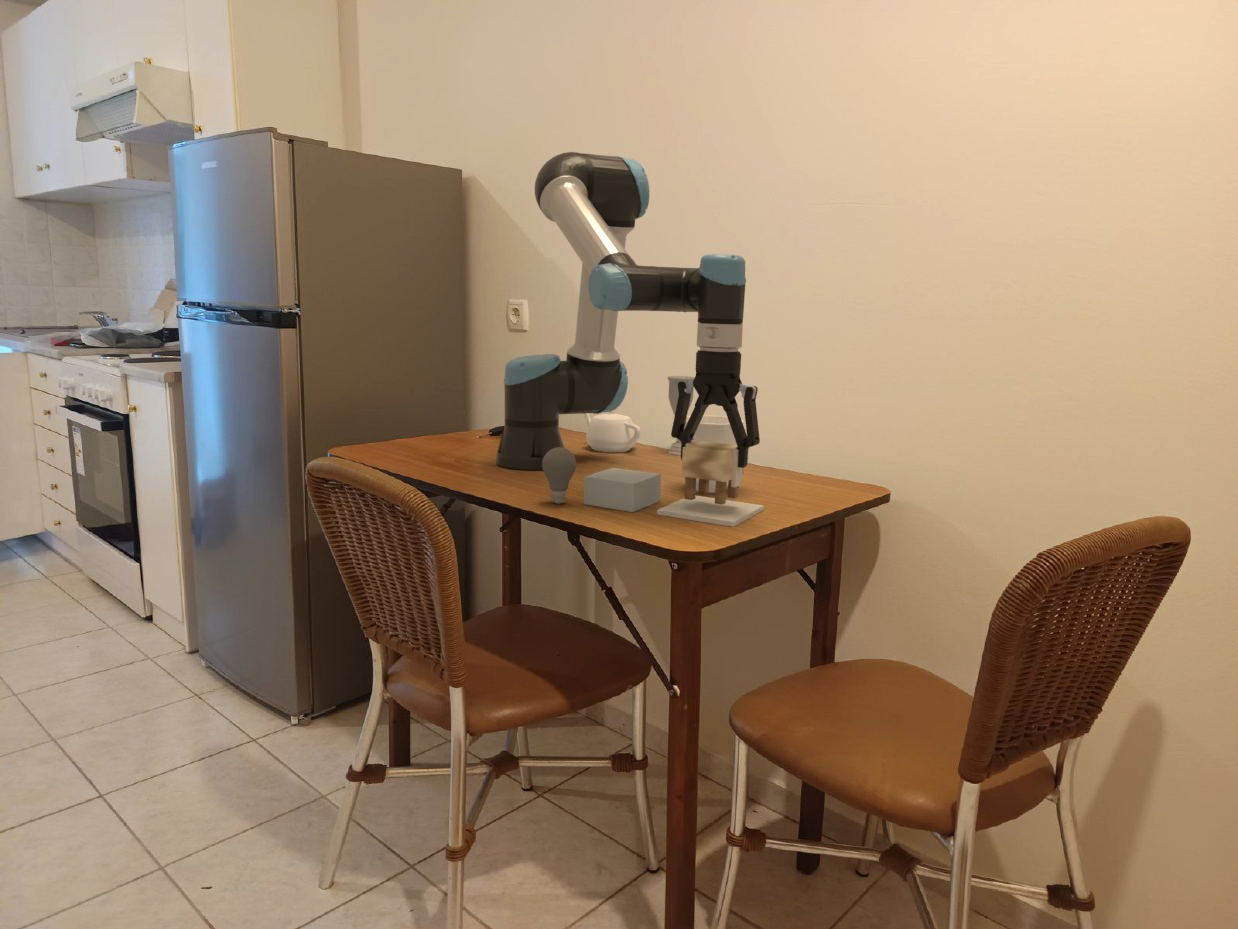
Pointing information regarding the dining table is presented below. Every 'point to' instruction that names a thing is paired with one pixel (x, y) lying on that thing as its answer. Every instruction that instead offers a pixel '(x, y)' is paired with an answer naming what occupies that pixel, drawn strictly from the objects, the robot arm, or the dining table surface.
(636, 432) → the teapot
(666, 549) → the dining table surface
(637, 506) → the gray square block
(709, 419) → the cup
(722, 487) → the stool
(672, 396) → the chalice
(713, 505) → the mat
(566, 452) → the light bulb
